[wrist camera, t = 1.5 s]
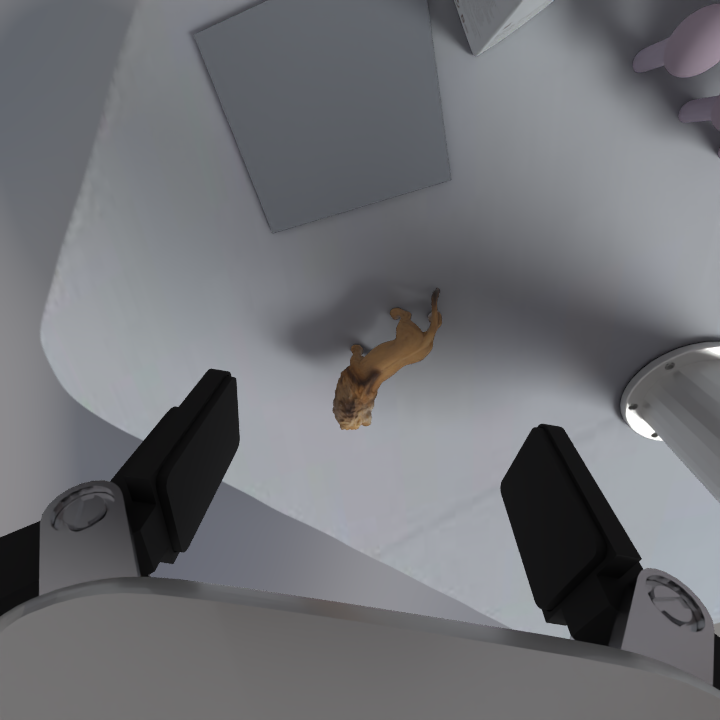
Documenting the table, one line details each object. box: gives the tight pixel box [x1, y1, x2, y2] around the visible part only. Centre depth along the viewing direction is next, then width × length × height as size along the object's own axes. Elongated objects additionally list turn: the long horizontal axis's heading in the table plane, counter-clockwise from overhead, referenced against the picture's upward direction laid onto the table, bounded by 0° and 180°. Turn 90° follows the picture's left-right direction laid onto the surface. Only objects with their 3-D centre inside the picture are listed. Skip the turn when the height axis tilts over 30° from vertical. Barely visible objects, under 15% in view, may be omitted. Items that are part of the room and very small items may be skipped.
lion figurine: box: [333, 288, 442, 430], centre depth 33 cm, size 15×5×9 cm, turn 144°
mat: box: [194, 0, 451, 233], centre depth 26 cm, size 16×14×1 cm
